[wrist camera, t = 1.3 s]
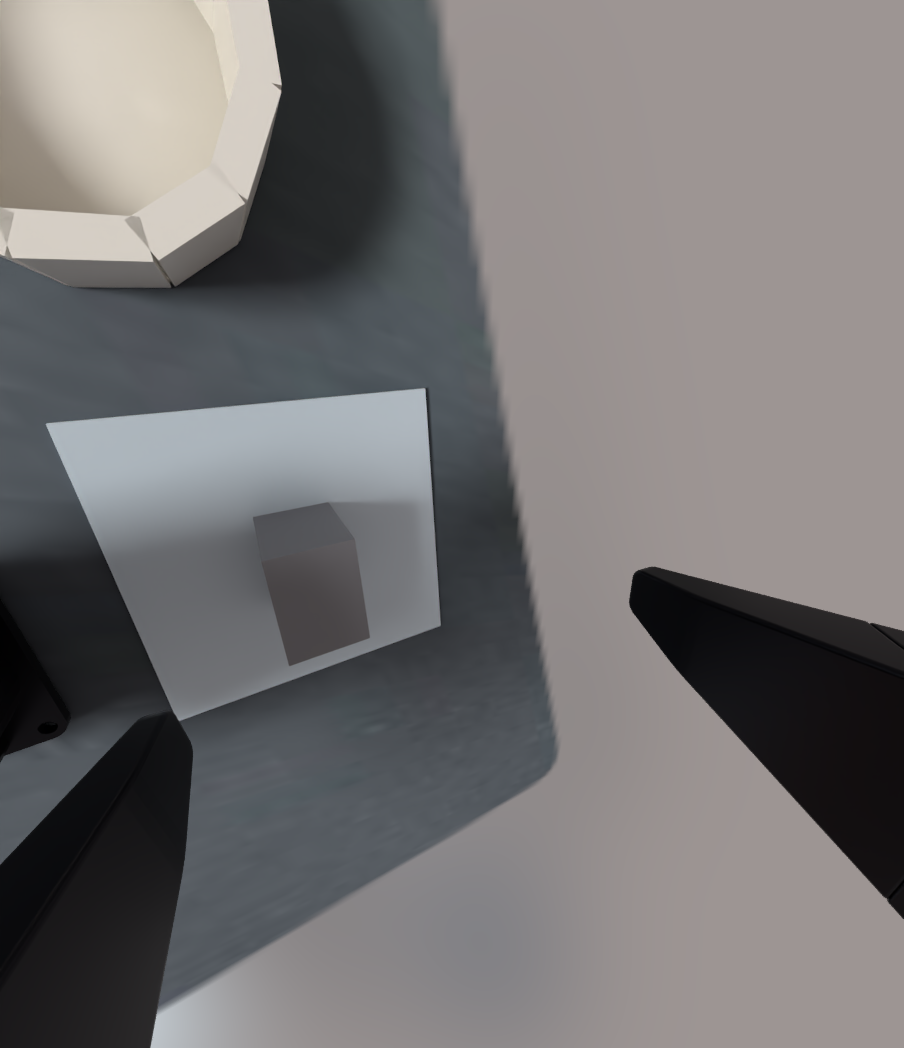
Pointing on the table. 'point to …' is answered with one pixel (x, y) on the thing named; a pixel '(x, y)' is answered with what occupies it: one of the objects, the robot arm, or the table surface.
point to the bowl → (131, 134)
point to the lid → (262, 534)
